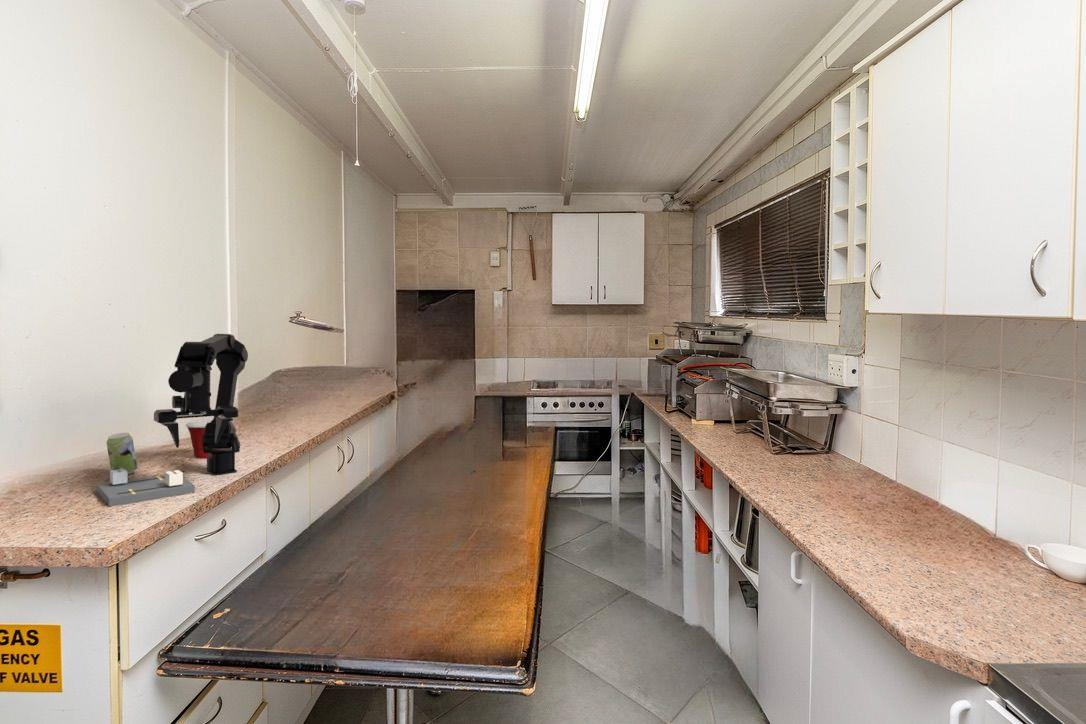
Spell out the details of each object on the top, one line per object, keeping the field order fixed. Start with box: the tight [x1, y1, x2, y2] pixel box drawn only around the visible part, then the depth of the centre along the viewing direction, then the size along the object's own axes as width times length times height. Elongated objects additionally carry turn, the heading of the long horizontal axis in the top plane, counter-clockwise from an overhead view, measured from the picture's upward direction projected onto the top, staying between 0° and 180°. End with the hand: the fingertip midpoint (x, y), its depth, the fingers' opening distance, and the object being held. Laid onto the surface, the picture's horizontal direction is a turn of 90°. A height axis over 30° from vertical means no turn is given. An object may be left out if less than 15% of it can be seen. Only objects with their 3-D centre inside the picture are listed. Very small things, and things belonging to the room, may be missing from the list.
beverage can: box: [105, 432, 138, 475], centre depth 157 cm, size 6×7×12 cm
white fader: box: [109, 469, 128, 485], centre depth 142 cm, size 3×4×3 cm
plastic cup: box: [185, 418, 214, 459], centre depth 182 cm, size 11×11×12 cm
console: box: [96, 474, 196, 508], centre depth 142 cm, size 18×16×2 cm
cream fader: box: [164, 469, 184, 486], centre depth 142 cm, size 3×4×3 cm
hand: (197, 445), depth 146 cm, fingers open, 9 cm apart
